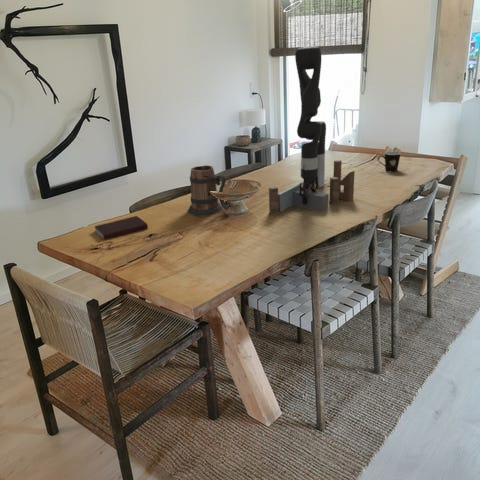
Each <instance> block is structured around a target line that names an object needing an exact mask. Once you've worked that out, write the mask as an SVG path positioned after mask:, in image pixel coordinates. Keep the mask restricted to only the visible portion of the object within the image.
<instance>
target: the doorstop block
mask: <svg viewBox="0 0 480 480" xmlns="http://www.w3.org/2000/svg"><path fill="white" fill-rule="evenodd" d="M299 192H300V190H298V189H297V190H295V191H293V192H292V205H291V206H292V207H297V208H303V209H308V210H314V211H319V212H320V211H321V212H325V211H326V210H327V209H328V208H329V193H325V192H317V191H316V192H312V191H311V190H310V192H308V195H307V204H306V205H305V204H302V196H299Z"/></svg>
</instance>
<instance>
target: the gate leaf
mask: <svg viewBox="0 0 480 480" xmlns="http://www.w3.org/2000/svg"><path fill="white" fill-rule="evenodd" d="M301 183H303V181H302V182H301ZM297 189H298V190H300V183H298V184H295V185H294V186H292V187H290V188H288V189H285V190H283V191H282V192H280V193H279V192H278V213H280V212H282V211H284V210H286V209H287V208H289V207H291V206H292V192H293V191H295V190H297Z"/></svg>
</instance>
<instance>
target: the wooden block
mask: <svg viewBox="0 0 480 480" xmlns="http://www.w3.org/2000/svg"><path fill="white" fill-rule="evenodd" d="M342 165H343V163H342V160H341V159H335V160H333V176H332V177H337V178H339V200H343V201H345V202H351V201H353V200H354V192H355V188H354V187H355V170H353V171H350V172H349V173H347V174H346V176H345V177H343V178H342ZM342 186H343V189H342Z"/></svg>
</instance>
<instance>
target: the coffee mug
mask: <svg viewBox="0 0 480 480" xmlns="http://www.w3.org/2000/svg"><path fill="white" fill-rule="evenodd" d="M401 155H402V153H401V152H399V151H386V152H384V155H379V156H378V157H377V161H378V162H379V164H381V165H383V166H384V169H385V172H387V171H391V172H390V173H394V172H393V171H396V172H398V169H399V163H400V158H401ZM381 157H382V158H383V159H384V163H382V162H381V161H380V158H381Z"/></svg>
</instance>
